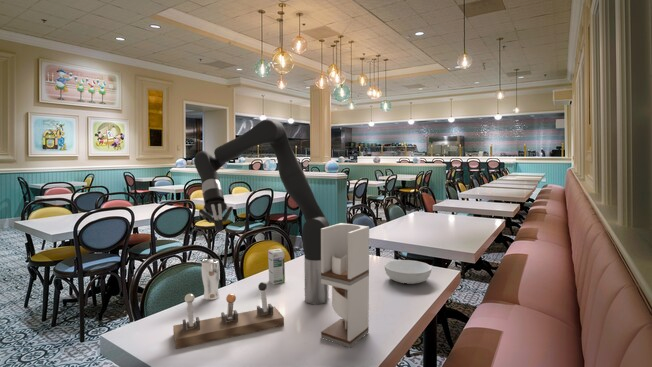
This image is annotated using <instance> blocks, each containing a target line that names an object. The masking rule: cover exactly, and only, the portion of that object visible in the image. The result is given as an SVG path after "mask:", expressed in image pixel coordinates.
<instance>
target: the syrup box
mask: <svg viewBox="0 0 652 367" xmlns="http://www.w3.org/2000/svg"><path fill="white" fill-rule="evenodd" d="M267 252H268V254H267V257H268V281H269V282H270V283H271V284H272V285H275V284H282V283H285V282H286V279H285V278H286V275H285V274H286V272H285V270H286V269H285V268H286V267H285V262H286V261H285V251H284V250H283V249H282V248H276V249H275V248H273V249H268V251H267Z"/></svg>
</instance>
